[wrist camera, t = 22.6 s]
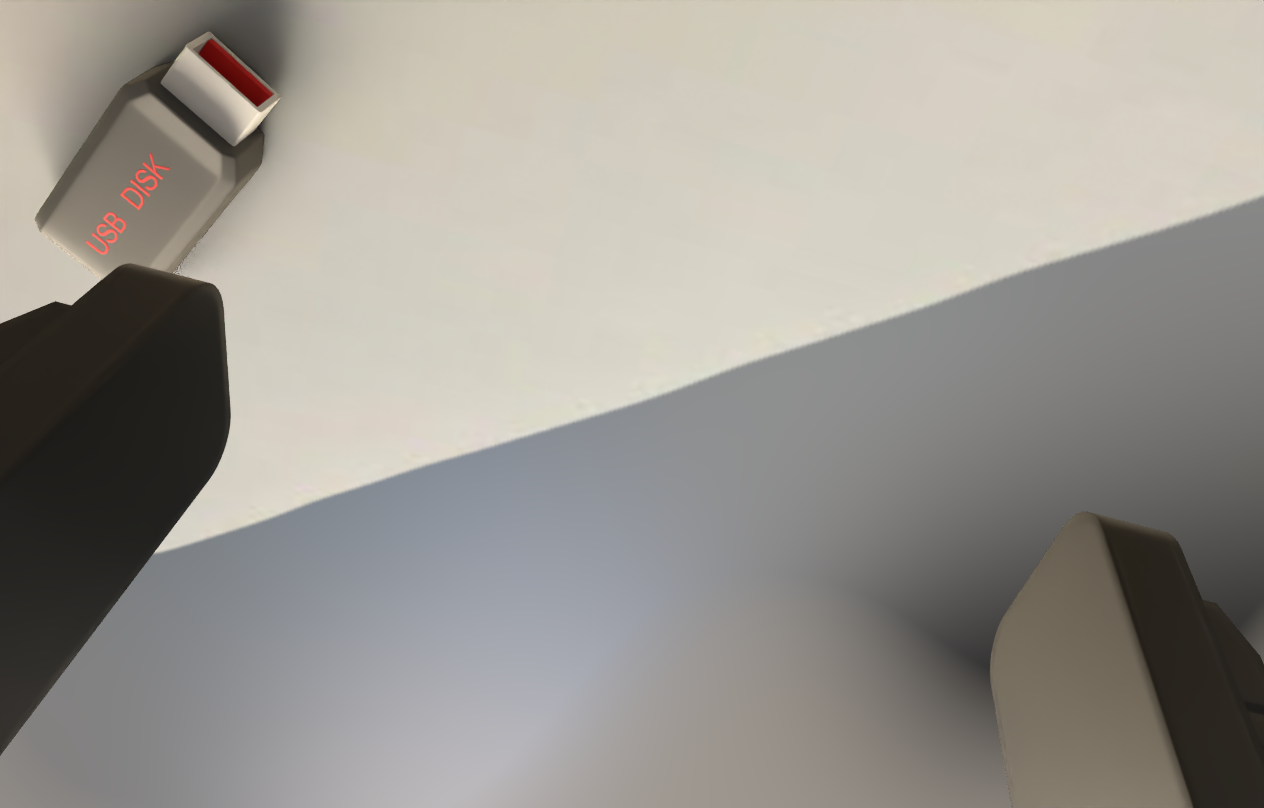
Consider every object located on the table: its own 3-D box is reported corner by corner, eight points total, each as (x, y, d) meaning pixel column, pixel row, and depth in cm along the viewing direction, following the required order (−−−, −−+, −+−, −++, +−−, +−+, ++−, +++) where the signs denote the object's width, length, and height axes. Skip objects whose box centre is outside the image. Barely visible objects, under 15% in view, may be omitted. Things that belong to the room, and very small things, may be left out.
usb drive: (58, 204, 43) (17, 233, 40) (191, 9, 37) (150, 31, 34) (161, 285, 44) (127, 317, 42) (304, 112, 38) (272, 139, 36)
